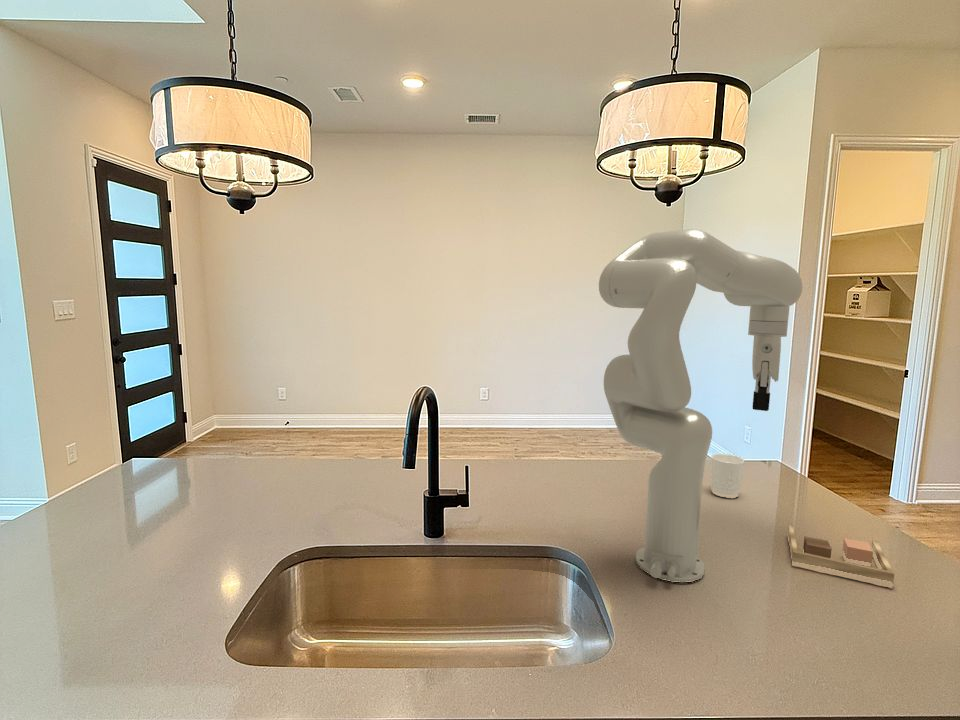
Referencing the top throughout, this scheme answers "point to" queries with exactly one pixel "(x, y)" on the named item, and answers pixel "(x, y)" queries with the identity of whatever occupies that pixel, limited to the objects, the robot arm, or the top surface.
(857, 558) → the terracotta block
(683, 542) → the robot arm
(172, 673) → the top surface
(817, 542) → the walnut block
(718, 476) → the white cup
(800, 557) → the tan u-shaped piece
